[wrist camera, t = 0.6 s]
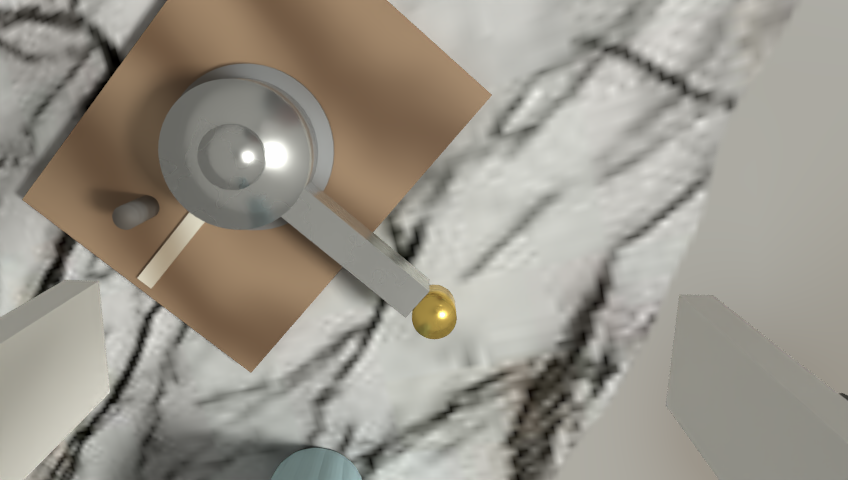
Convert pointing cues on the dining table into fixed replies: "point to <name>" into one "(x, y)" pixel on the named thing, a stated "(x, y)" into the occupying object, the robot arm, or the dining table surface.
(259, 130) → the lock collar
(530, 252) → the dining table surface
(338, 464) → the cup
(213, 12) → the post board
